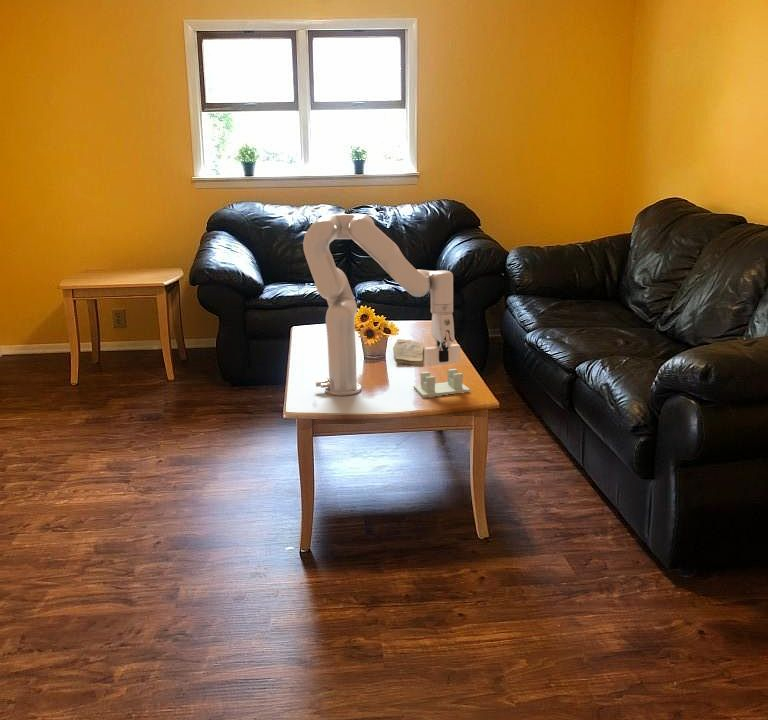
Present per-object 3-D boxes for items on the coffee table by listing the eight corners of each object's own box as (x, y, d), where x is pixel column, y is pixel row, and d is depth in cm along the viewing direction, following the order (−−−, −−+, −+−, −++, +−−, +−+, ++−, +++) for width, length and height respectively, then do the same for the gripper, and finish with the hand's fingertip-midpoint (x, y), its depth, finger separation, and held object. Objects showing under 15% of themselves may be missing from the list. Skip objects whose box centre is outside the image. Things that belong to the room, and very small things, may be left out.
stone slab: (423, 338, 319) (424, 356, 290) (422, 347, 320) (424, 366, 291) (393, 338, 319) (392, 355, 290) (393, 347, 320) (392, 366, 291)
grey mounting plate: (422, 398, 255) (422, 380, 254) (413, 389, 265) (413, 371, 263) (469, 392, 260) (470, 374, 258) (458, 383, 269) (459, 366, 267)
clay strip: (457, 360, 262) (457, 343, 260) (459, 362, 260) (459, 345, 258) (424, 364, 259) (424, 347, 257) (426, 366, 257) (426, 349, 255)
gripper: (461, 311, 247) (461, 365, 253) (443, 302, 262) (444, 353, 268) (439, 313, 245) (440, 368, 251) (423, 303, 260) (423, 355, 266)
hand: (442, 359), depth 259 cm, fingers closed on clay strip, 2 cm apart
